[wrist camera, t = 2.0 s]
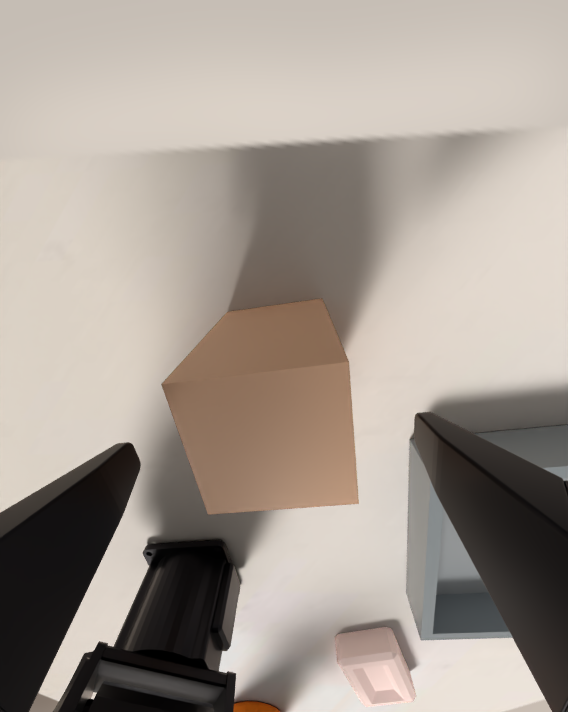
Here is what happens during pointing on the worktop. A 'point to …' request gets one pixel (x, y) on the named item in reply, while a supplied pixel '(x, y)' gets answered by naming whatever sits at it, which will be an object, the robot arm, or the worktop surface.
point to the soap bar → (375, 666)
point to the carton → (268, 411)
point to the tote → (447, 553)
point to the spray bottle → (253, 707)
